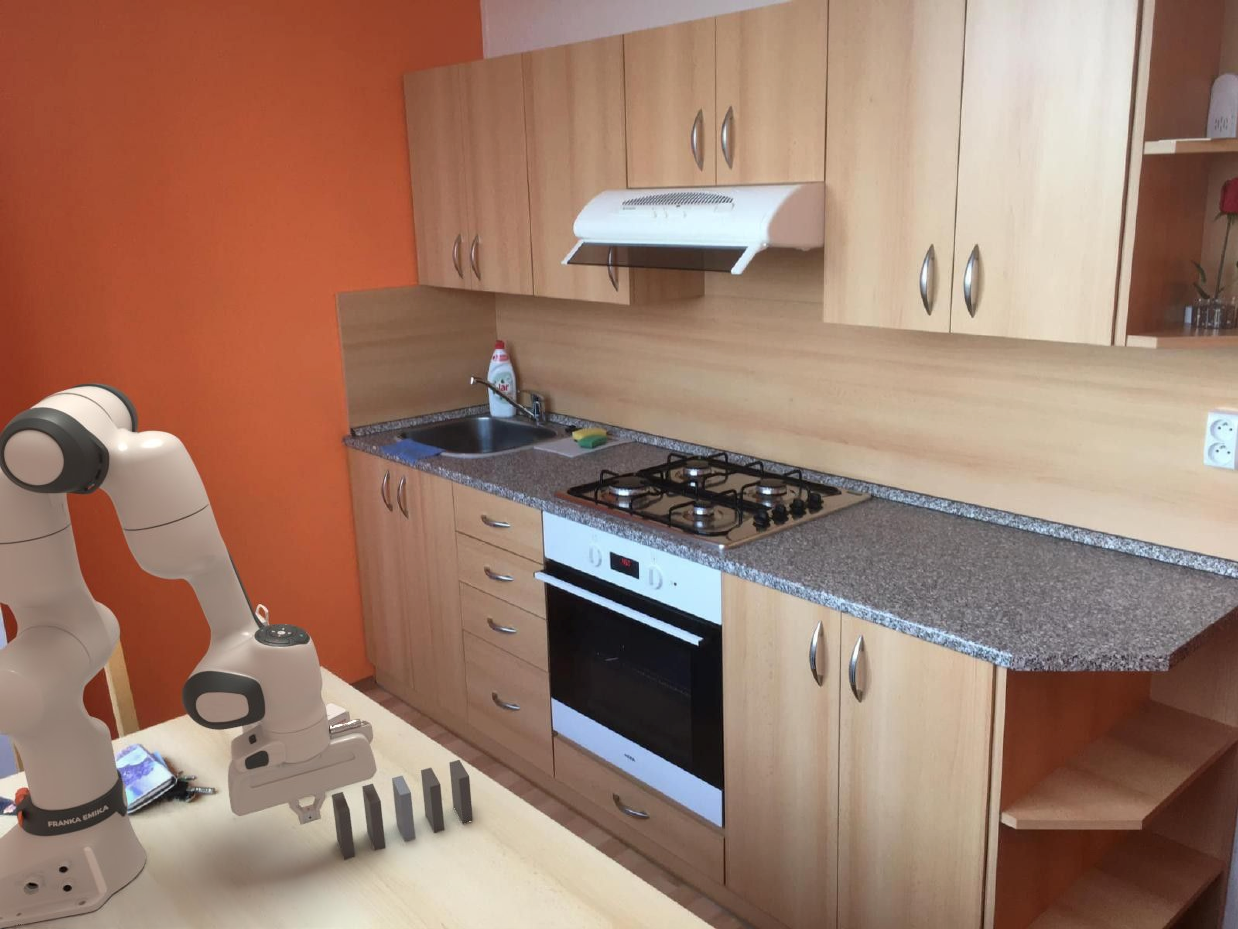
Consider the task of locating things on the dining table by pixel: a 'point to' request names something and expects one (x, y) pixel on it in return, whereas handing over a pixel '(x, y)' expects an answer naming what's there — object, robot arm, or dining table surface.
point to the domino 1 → (343, 825)
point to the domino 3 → (403, 808)
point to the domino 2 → (374, 816)
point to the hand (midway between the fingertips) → (310, 819)
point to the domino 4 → (432, 800)
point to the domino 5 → (461, 791)
